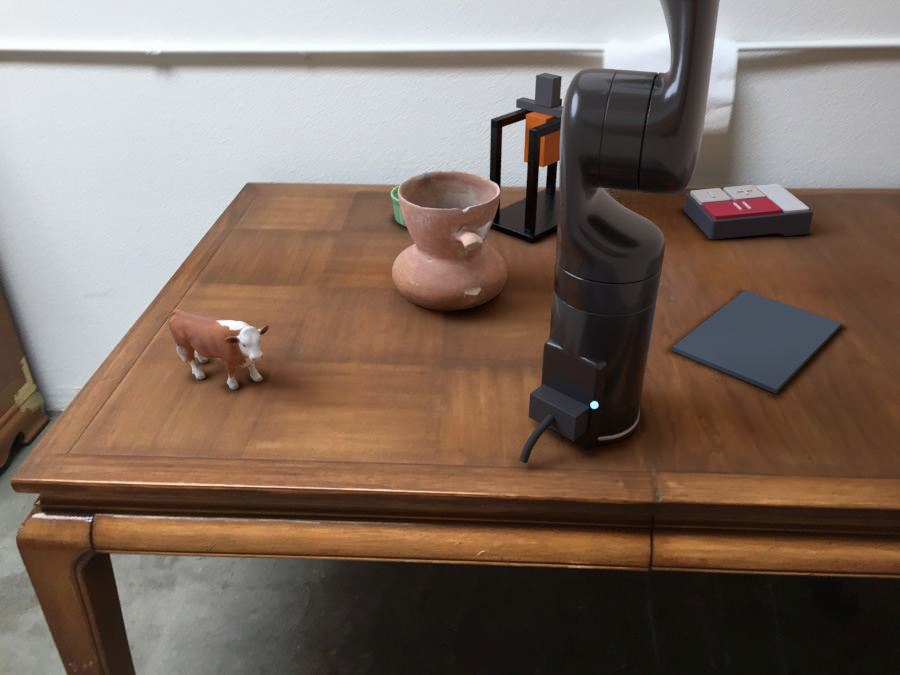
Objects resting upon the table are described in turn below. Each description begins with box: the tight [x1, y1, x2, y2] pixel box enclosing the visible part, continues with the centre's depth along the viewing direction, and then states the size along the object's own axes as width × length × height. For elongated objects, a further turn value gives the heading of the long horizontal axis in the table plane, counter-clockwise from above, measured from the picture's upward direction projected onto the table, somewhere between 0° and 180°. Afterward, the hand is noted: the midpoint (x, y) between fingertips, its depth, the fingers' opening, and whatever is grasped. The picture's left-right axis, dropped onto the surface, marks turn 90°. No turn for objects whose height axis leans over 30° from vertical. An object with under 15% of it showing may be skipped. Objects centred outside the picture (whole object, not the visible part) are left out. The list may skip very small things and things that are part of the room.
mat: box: [671, 289, 843, 395], centre depth 88 cm, size 18×12×1 cm, turn 137°
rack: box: [489, 97, 563, 244], centre depth 114 cm, size 17×10×16 cm, turn 137°
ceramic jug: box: [391, 170, 508, 311], centre depth 95 cm, size 18×14×14 cm
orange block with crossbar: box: [515, 72, 563, 168], centre depth 110 cm, size 5×10×12 cm, turn 47°
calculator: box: [683, 183, 814, 240], centre depth 115 cm, size 11×4×15 cm
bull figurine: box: [168, 308, 270, 391], centre depth 80 cm, size 4×13×8 cm, turn 58°
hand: (690, 12), depth 95 cm, fingers open, 8 cm apart
